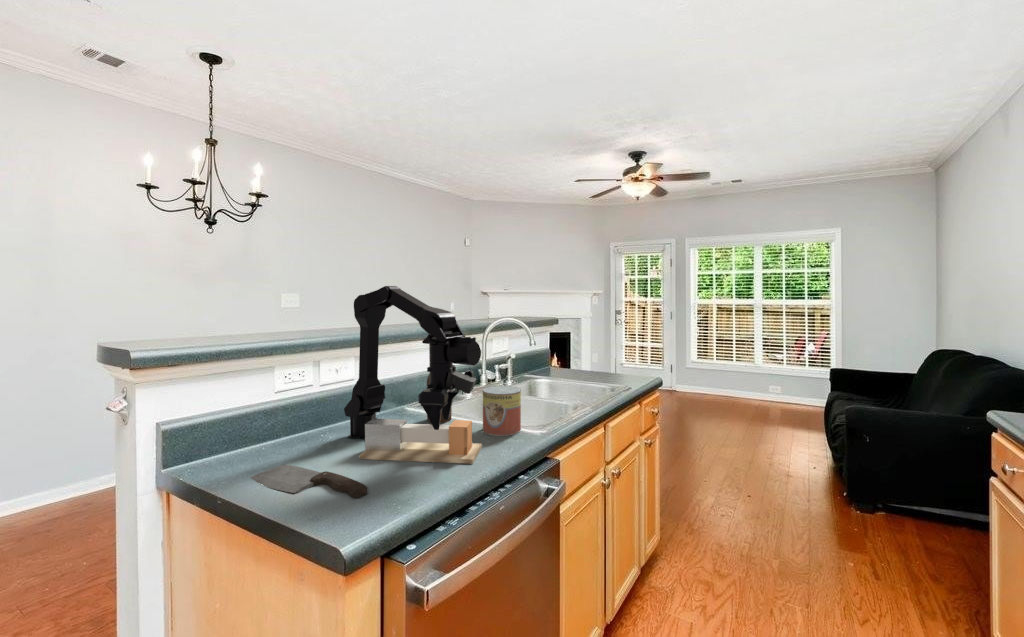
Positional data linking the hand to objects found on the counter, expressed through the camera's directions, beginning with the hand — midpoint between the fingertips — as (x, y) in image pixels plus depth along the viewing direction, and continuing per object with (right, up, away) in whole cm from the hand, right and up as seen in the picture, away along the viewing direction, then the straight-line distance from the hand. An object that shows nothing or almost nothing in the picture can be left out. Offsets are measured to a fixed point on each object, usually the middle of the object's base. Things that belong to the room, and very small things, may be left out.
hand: (441, 424), depth 120 cm
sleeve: (-14, -7, +2) cm, 16 cm away
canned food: (+15, -7, +21) cm, 26 cm away
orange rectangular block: (+5, -7, 0) cm, 8 cm away
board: (-5, -7, +1) cm, 9 cm away
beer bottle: (-5, -6, +32) cm, 33 cm away
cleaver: (-25, -9, -18) cm, 33 cm away
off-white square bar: (-4, -4, +1) cm, 6 cm away
